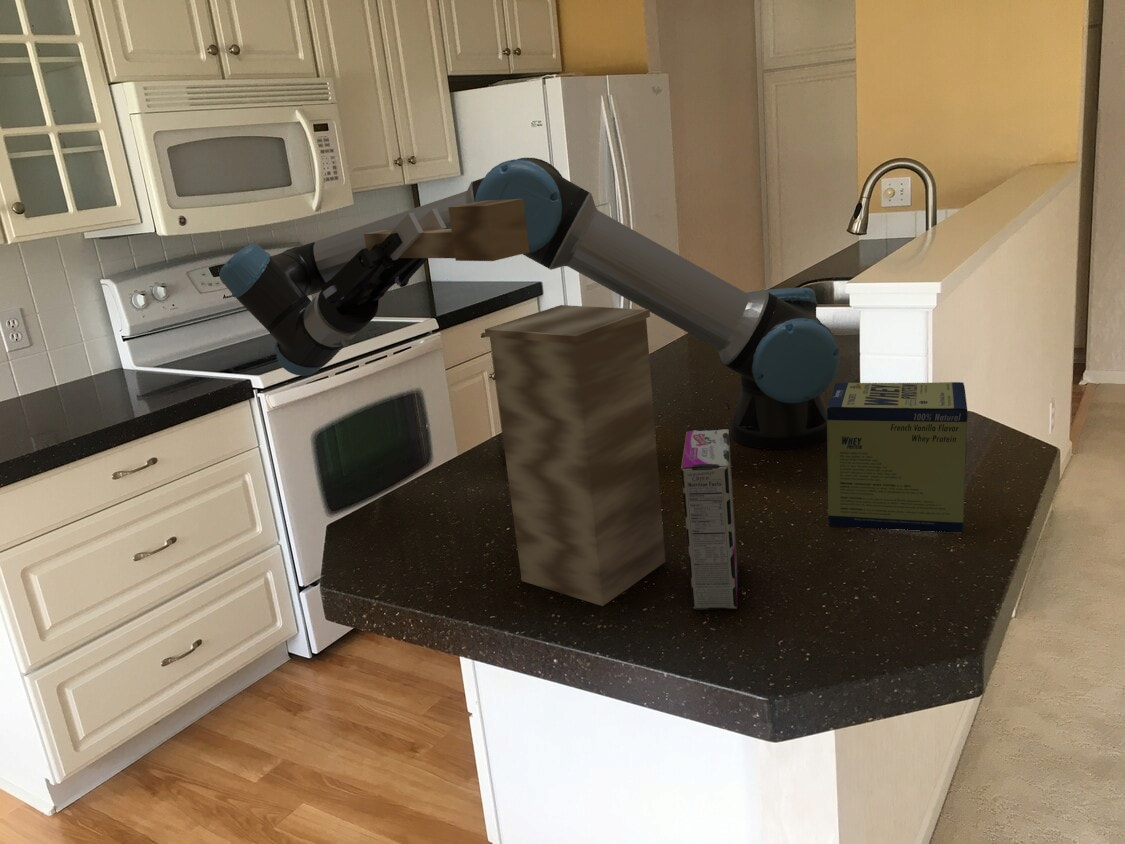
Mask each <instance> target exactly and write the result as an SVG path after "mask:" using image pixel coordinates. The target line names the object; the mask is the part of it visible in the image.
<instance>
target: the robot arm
mask: <svg viewBox="0 0 1125 844" xmlns="http://www.w3.org/2000/svg"><path fill="white" fill-rule="evenodd" d="M508 199H524V208H525V217H526V225H527V234H528V243H529V252H528V253H524V254H522V255H523V256H525V257H527V258H528V259H530V260H532V261H534V262H536V263H537V264H539V265H542V266H543V267H545V268H547V269H548V270H550V271H552V270H556V269H558V268H563V267H568V268H570V269H572V270H574V271H575V272H577V273H579V274H581V275H582V276H584V277H587V278H588V279H589V280H591V281H593V282H595V283H596V284H599V285H601V286H603V287H604V288H606V289H608V290H610V291H611V292H613V293H615V294H617V295H619V296H620V297H623V298H624V299H627V300H628V301H630V302H632V303H634V304H635V305H637V306H639V307H641V309H649V310H650V313H652V314H654V315H655V316H658V317H659V318H660V319H663V320H664V321H666V322H668V323H669V324H672V325H673V326H675V327H677V328H679V329H681V330H683V331H684V332H686V333H688V334H690V335H692V336H693V337H695V338H697V339H699V340H701V341H702V342H704V343H706V344H708V345H710V346H711V347H713V348H715V349H717V351H718V355H719V357H720V360H721V361H720V363H721V364H722V365H724V367H727V368H729V369H731V370H733V371H734V372H736V373H738V374H740V382H741V383H740V384H741V389H740V393H739V397H738V400H737V402H736V407H735V411H734V413H733V414H734V415H733V418H732V422H731V426H732V427H731V431H732V432H731V433H732V438H733V439H734V440H735V441H736V442H738V443H739V444H742V445H744V446H747V447H753V448H757V449H767V450H768V449H769V450H771V449H772V450H786V449H797V448H804V447H809V446H813V445H815V444H819V443H822V442H823V441H825V440H827V406H826V404H825V401H824V398H823V395H822V393H824V392H825V391H826V389H828V388H829V387H830V385H831V384H832V382H833V380H834V379H835V377H836V376H837V373H838V369H839V367H840V351H839V346H838V343H837V340H836V338H835V336H834V333H832V331H831V330H830V328H829V327H827V325H825V324H823V323H822V322H821V320H820V319H819V318H818V317H817V307H818V301H817V298H816V297H817V296H816V293H815V290H814V289H813V288H810V287H785V288H773V289H763V290H755V291H753V290H752V291H748V292H745V291H744V290H741V289H740V288H738V287H737V286H735V285H733V284H731V283H729V282H727V281H725V280H724V279H722V278H720V277H719V276H718V275H715V274H713V273H712V272H710V271H708V270H706V269H704V268H703V267H701V266H699V265H697V264H695V263H694V262H692V261H690V260H689V259H686V258H684V257H682V256H680V255H679V254H678V253H676V252H673V251H672V250H670V249H668V248H667V247H665V246H663V245H661V244H659V243H657V242H655V241H654V240H652V239H650V238H648V237H647V236H646V235H643V234H641V233H639V232H637V231H636V230H634V229H632V228H631V227H629V226H627V225H625V224H624V223H621V222H620V221H618V220H617V219H614V218H613V217H611V216H609V215H608V214H606V213H603V212H602V211H600V210H598V208H597V206H596V204H595V201H594V197H593V195H592V193H591V192H590V191H588V190H586V189H585V188H582V187H581V186H579V185H577V184H576V183H573V182H572V181H570V180H568V179H566V178H564V177H563V176H562V174H561V173H560V172H559V170H558V169H556V167H555V166H553V165H552V164H551V163H549V162H547V161H545V160H543V159H541V158H536V157H520V158H517V159H515V158H514V159H510V160H506V161H502V162H500V163H499V164H497V165H495V166H493V167H492V168H491V169H490V171H488V172H487V174H485V176H484V177H482V178H479V179H476V180H473V181H471V182H470V183H469V186H468V188H467V190H465V191H462V192H459V193H456V194H453V195H449V196H447V197H444V198H442V199H441V198H440V199H438V200H435V201H432V202H429V203H426V204H423V205H420V206H417V207H414V208H411V209H408V210H404V211H402V212H399V213H396V214H393V215H390V216H387V217H384V218H381V219H378V220H375V221H373V222H372V221H371V222H369V223H366V224H363V225H360V226H357V227H354V228H351V229H348V230H345V231H341V232H339V233H336V234H333V235H330V236H328V237H323V238H320V239H318V240H316V241H313V242H310V243H309V242H308V243H306V244H303V245H301V246H300V245H299V246H294V247H290V248H289V249H286V250H284V251H283V252H279V253H277V254H273V255H271V254H270V253H269V252H268V251H266V250H265V249H264V248H262V247H261V246H260V245H259V244H256V243H251V244H248V245H247V246H245V247H243V248H241V249H240V250H239V251H237V252H236V253H235V254H234V255H233V256H231V257H230V258H229V259H228V261H226V263H224V265H222V267H221V269H220V270H219V275H218V276H219V279H220V281H221V282H222V284H223V285H225V287H226V288H227V290H228V291H230V293H231V295H232V296H233V298H234V299H236V300H237V301H239V303H240V304H242V305H243V307H244V308H245V309H246V310H247V311H248V312H249V313H250V314H251V315H252V316H253V317H254V318H255V319H256V320H257V322H259V323H260V324H261V325H262V327H264V328H265V329H266V330H267V332H268V333H269V335H271V337H273V338H274V340H275V343H274V353H275V357H276V359H277V362H278V364H279V365H280V366H281V367H282V368H283V369H284V370H285V371H287V372H288V373H290V374H292V375H295V376H302V377H305V376H311V375H313V374H315V373H317V372H318V371H319V370H321V369H322V368H324V367H325V366H326V365H327V364H329V362H331V361H332V359H333V358H334V357H336V355H338V353H340V351H341V350H342V349H343V348H347V347H349V346H350V341H351V340H352V339H353V338H354V337H356V335H357V334H359V332H360V331H361V330H363V329H364V328H365V327H366V326H367V325H368V324H369V323H370V322H372V320H373V319H374V318H375V317H376V316H377V314H378V310H379V302H380V301H379V300H380V299H381V298H383V297H384V296H385V294H386V293H387V292H388V291H389V289H391V288H392V287H393V286H394V285H397V286H399V287H400V288H404V287H407V285H408V284H409V281H410V279H411V278H412V276H413V275H415V274H416V272H417V271H418V270H419V269H420V268H421V267H422V266H423V265H424V264H425V262H427V260H428V259H429V258H399V257H400V256H401V255H402V254H403V253H404V252H405V251H406V250H407V249H408V248H409V247H410V246H411V245H412V244H413V243H414V242H415V241H416V240H417V239H418V237H419V236H420V235H421V234H422V233H423V230H426V229H451V223H450V216H449V209H448V207H452V206H458V205H464V204H469V203H475V202H480V201H487V200H508ZM381 230H393V231H392V232H391V233H390V234H389V235H388V236H387V237H386V238H385V239H384V240H383V242H382V243H379V244H376V245H374V246H373V248H372V249H371V250H370V251H369V250H368V248H366V245H365V239H364V234H366V233H371V232H376V231H381ZM390 256H391V258H389V257H390ZM315 294H317V295H315ZM313 295H315V296H314V297H313V299H312V300H311V299H310V296H313Z"/></svg>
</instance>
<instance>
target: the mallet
mask: <svg viewBox="0 0 1125 844" xmlns="http://www.w3.org/2000/svg"><path fill="white" fill-rule="evenodd" d="M448 209H449V216H450V223H451V229H426V230H423V233H422V234H421V235H420V236H419V237H418V239H417V240H416V241H415V242H414V243H413V244H412V245H411V246H410V247H409V248H408V249H407V250H406V251H405V252H404V253H403V254H402V255H401V256H400V257H399V258H428V259H454V260H455V261H456V262H457V261H458V262H495V261H500V260H503V259H508V258H512V257H515V256H520V255H523V254H524V253H528V252H529V243H528V234H527V225H526V217H525V208H524V199H508V200H487V201H480V202H475V203H469V204H464V205H458V206H452V207H448ZM392 231H393V230H381V231H376V232H371V233H366V234H364V239H365V245H366V248H368V250H369V251H370V250H371V249H372V248H373V246H374V245H376V244H379V243H382V242H383V240H384V239H385V238H386V237H387V236H388V235H389V234H390V233H391V232H392ZM389 258H391V256H390V257H389Z"/></svg>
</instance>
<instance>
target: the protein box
mask: <svg viewBox="0 0 1125 844" xmlns="http://www.w3.org/2000/svg"><path fill="white" fill-rule="evenodd" d="M966 395H967V394H966V387H965V383H964V382H962V381H956V382H955V381H954V382H953V381H951V382H950V381H947V382H945V381H944V382H943V381H942V382H838V383H837V382H836V383H834V386H833V390H832V393H831V396H830V399H829V401H828V403H827V406H826V408H827V438H826V440H827V441H826V442H827V445H826V446H827V447H826V448H827V451H826V453H827V526H828V527H832V528H833V527H834V528H847V527H854V528H853V529H856V528H855V527H860V528H859V529H865V528H876V529H875V530H884V529H886V528H887V529H905V530H907V529H908V530H920V531H935V532H934V533H936V531H937V532H939V531H940V532H941V531H942V532H944V531H945V532H963V533H964V517H965V515H964V514H965V493H966V492H965V490H966V465H967V463H966V462H967V461H966V460H967V443H968V442H967V441H968V418H969V417H968V404H967V397H966ZM878 528H879V529H878ZM881 528H882V529H881Z"/></svg>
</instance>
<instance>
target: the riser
mask: <svg viewBox="0 0 1125 844" xmlns="http://www.w3.org/2000/svg"><path fill="white" fill-rule="evenodd" d="M650 313H651V312H650V310H649V309H644V308H626V307H625V308H624V307H609V306H608V307H606V306H604V307H603V306H589V305H588V306H585V305H566V304H563V305H562V304H560V305H556V306H554V307H550V308H547V309H545V310H541V311H538V312H535V313H532V314H528V315H526V316H523V317H520V318H516V319H513V320H509V321H506V322H504V323H500V324H497V325H494V326H490V327H488V328H485V329H484V334H485V337H487V338H489V342H490V349H491V356H492V364H493V372H494V373H493V374H494V380H495V386H496V396H497V402H498V409H499V418H500V424H501V432H502V433H501V434H502V440H503V441H502V442H503V448H504V456H505V463H506V470H507V479H508V485H509V492H510V493H509V494H510V501H511V507H512V508H511V509H512V515H513V523H514V525H513V526H514V532H515V540H516V548H517V555H518V562H519V568H520V577H521V582H523V583H527V584H531V585H533V586H536V587H540V588H543V589H547V590H549V591H554V592H557V593H559V594H562V595H566V596H569V597H572V598H575V599H579V600H581V601H585V602H589V603H591V604H593V605H598V606H601V607H604V606H605V605H606V604H608V603H610V602H611V601H612V600H614V599H615V598H616V597H618V596H619V595H621V594H622V593H624V592H625V591H627V590H628V589H629V588H631V587H632V586H634V584H637V582H639V581H640V580H642V579H644V578H645V577H646V576H647V575H649V574H650V573H652V572H653V571H655V570H656V569H657V568H659V567H660V566H661V565H664V564H665V563H666V552H665V541H664V539H665V538H664V537H665V536H664V526H663V514H662V504H661V503H662V502H661V487H660V486H661V485H660V475H659V462H658V450H657V449H658V448H657V440H656V439H657V438H656V426H655V413H654V411H655V410H654V400H653V399H654V398H653V387H652V374H651V363H650V362H651V360H650V349H649V336H648V325H647V324H648V323H647V318H651V314H650Z"/></svg>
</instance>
